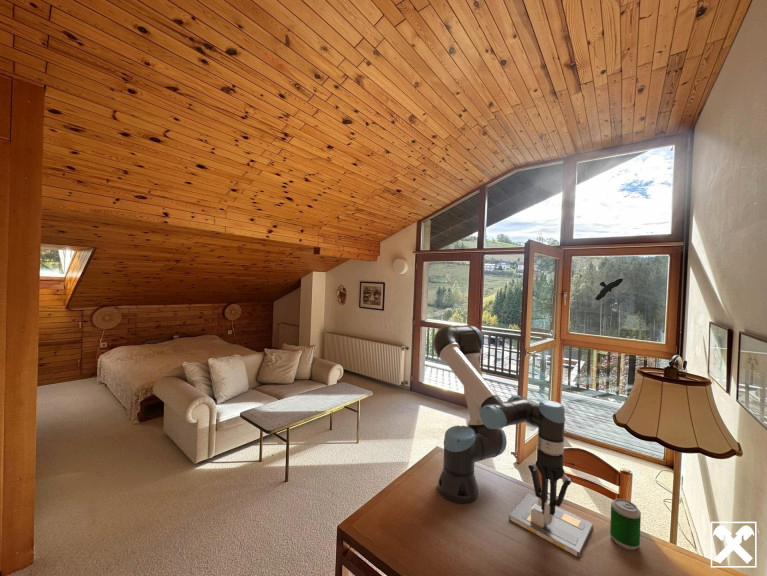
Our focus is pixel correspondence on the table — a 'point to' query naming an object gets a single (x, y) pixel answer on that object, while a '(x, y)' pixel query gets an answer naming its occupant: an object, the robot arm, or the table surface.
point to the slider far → (541, 500)
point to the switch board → (555, 526)
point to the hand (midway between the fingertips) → (547, 521)
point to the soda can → (625, 524)
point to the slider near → (537, 515)
